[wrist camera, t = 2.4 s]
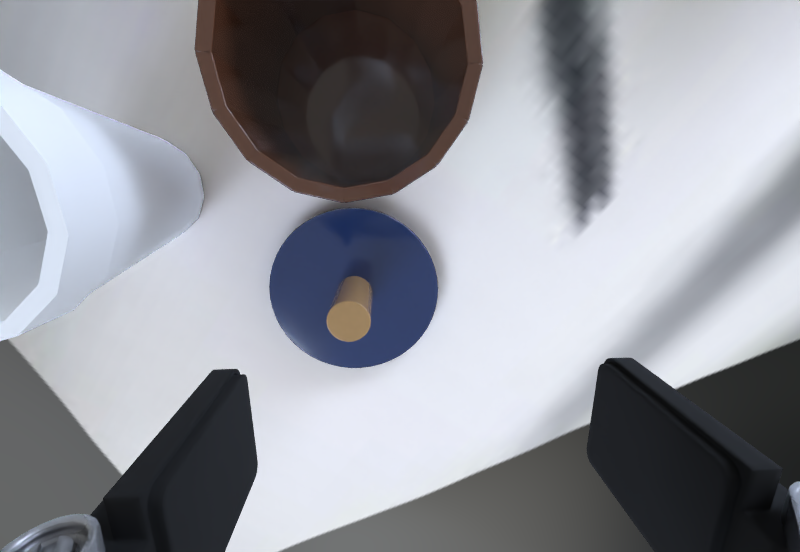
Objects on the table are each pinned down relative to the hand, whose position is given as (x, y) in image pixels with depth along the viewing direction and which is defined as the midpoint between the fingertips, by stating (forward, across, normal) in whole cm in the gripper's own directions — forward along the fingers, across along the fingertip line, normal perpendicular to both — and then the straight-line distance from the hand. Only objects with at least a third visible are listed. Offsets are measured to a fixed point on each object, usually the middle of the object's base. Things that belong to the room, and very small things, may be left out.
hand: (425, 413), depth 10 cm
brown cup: (+16, +2, -10) cm, 20 cm away
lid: (+16, +3, +2) cm, 16 cm away
